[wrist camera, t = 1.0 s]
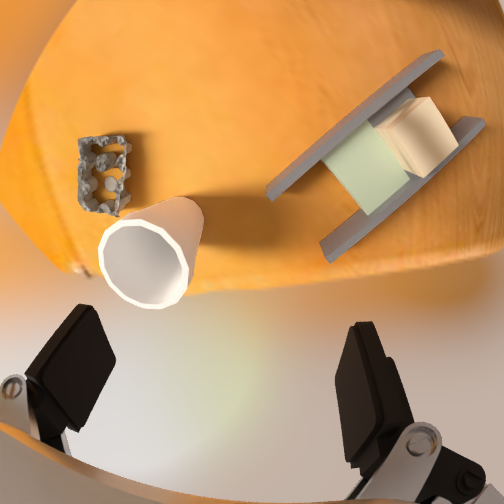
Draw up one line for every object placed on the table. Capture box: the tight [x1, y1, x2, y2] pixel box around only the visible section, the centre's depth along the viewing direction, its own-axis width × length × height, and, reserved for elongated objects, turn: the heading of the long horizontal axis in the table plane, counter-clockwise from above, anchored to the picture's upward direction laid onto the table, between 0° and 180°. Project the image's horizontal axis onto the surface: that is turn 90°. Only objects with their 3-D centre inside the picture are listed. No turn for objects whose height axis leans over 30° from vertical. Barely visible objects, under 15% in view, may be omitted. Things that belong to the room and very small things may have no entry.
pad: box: [320, 120, 410, 215], centre depth 30 cm, size 7×9×3 cm
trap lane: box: [266, 49, 486, 264], centre depth 28 cm, size 28×11×4 cm, turn 135°
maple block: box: [374, 97, 459, 178], centre depth 24 cm, size 6×6×5 cm
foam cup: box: [98, 197, 204, 309], centre depth 30 cm, size 10×9×13 cm
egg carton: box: [77, 135, 132, 217], centre depth 32 cm, size 11×8×4 cm
